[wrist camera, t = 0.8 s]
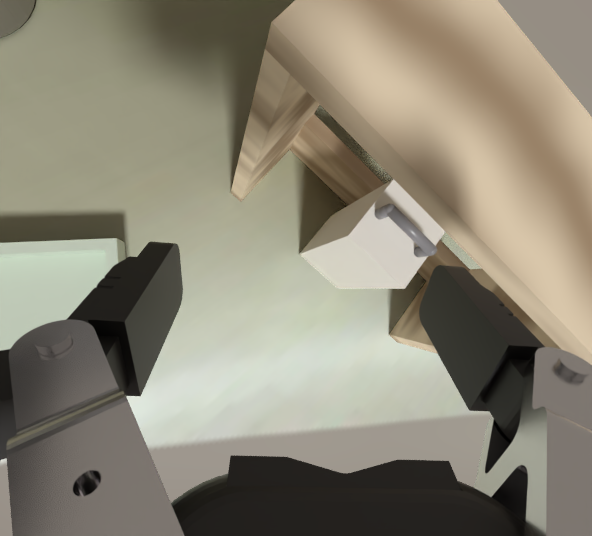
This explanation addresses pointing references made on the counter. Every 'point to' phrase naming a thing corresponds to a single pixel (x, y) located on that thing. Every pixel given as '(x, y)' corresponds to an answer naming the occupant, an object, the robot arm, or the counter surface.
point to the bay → (441, 143)
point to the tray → (49, 280)
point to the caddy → (374, 241)
